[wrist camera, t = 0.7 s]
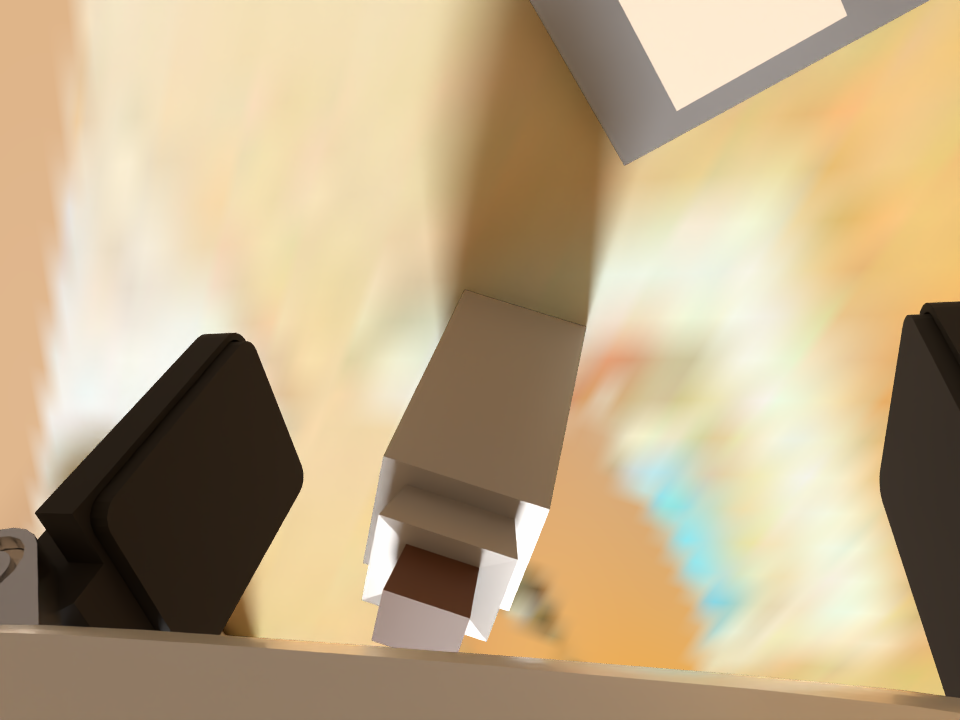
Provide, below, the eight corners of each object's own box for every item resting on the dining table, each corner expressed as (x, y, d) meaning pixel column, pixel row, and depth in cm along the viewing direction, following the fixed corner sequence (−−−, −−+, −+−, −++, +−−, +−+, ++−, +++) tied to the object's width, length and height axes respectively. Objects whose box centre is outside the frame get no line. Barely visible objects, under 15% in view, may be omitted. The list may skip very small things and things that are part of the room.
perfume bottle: (464, 289, 40) (341, 542, 26) (586, 327, 40) (530, 605, 25) (441, 385, 44) (323, 651, 30) (552, 420, 44) (487, 706, 29)
